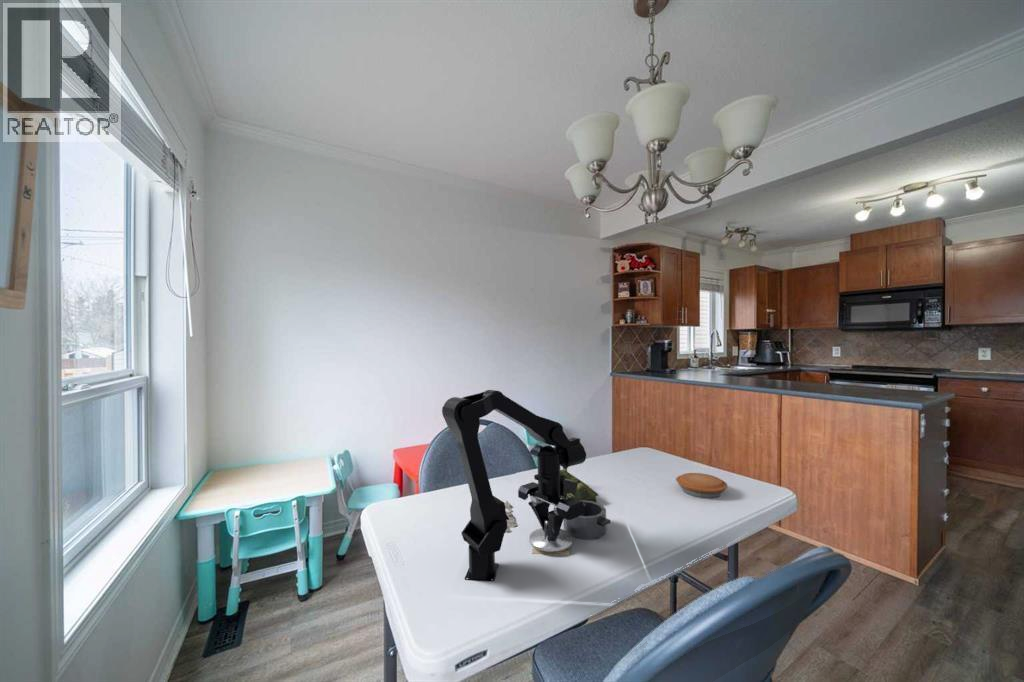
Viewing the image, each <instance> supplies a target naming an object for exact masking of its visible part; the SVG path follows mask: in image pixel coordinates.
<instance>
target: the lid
mask: <svg viewBox="0 0 1024 682" xmlns="http://www.w3.org/2000/svg"><path fill="white" fill-rule="evenodd" d="M528 541H529V543H530V545H531V546H532V548H533V547H535V548H536V549H539V550H542V551H547V552H558V551H563V550H566V549H568V548H569V547H570V548H571V547H572V545H573V544H574V537H572V535H571V534H570V533H569V532H567V531H565V530H564V528H560V531H559V534H558V536H557V537H554V536H553V533H552V528H551V524H550V520H549V517H546V518H544V531H543V529H542V527H541V528H538V529H536V530H533V531H532V532H531V533H530V534H529V540H528Z"/></svg>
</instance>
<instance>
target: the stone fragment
mask: <svg viewBox="0 0 1024 682" xmlns="http://www.w3.org/2000/svg"><path fill="white" fill-rule="evenodd" d="M504 504H505V509H506V510H508V511H506V514H507V516H508V518H509V520H507V530H506V531H505V533H504V534H510V533H512V532H513V530H511V528H515V527H517V526H518V524H517V522H516V521H515V517H514V515H513V514H512V512H514V511H513V509H512V508H511V506H512V504H510V503H509V501H508V500H506V501H505V502H504Z"/></svg>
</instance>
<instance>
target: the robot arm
mask: <svg viewBox="0 0 1024 682" xmlns="http://www.w3.org/2000/svg"><path fill="white" fill-rule="evenodd" d="M493 411H495V412H497V413H499V414H500V415H502V416H503V417H505V418H506V419H509V420H510V421H513V423H516V424H517V425H519V426H520V427H523V428H524V430H526V432H527V434H528V435H530V436H531V437H532V439H534V440H535V441H537V442H540V443H543V444H547V445H543V446H542V445H540V444H537V443H536V444H535V445H534V446H533V448H531V450H530V451H529V454H530V455H533V456H535V457H537V458H536V459H537V460H536V461H537V474H534V476H533V478H534V480H536V481H537V483H536V482H534V481H531V482H529V483H525V484H522V485H520V486H519V488H518V490H517V494H518V495H517V496H518V498H520V499H521V500H523V501H527V499H529V497H530V501H528V506H529V507H530V508H531V509H532V511H533V513H534V515H535V516H536V519H537V521H538V523H539V524H540V527H541V528H542V529H543V531H544V518H546V517H549V520H550V524H551V528H552V533H553V536H554V537H557V536H558V534H559V531H560V529H562V525H563V523H564V520H563V519H567V520H572V519H574V518H576V517H579V516H581V515H583V514H585V513H586V511H585V504H584V503H583V501H580V500H578V499H575V498H573V497H571V498H569V499H561V496H563V497H564V496H567V493H570V494H573V495H576V491H577V486H578V482H575V481H572V480H569V479H566V478H565V476H564V474H561V471H560V470H561V467H562V468H563V467H568V468H569V467H573V466H577V465H582V464H584V463H585V461H586V459H587V452H586V450H585V447H584V446H583V444H582V443H581V439H580V438H578V437H571V438H568V436H567V435H566V434H565V432H564V427H563V425H562V424H561V423H559V422H557V421H556V420H555V421H554V420H552V419H549V418H546V417H543V416H539V415H537V414H536V413H534V412H532V411H530V410H529V409H527V408H525V407H524V406H522V405H520V404H519V403H518V402H516V401H514V400H512V399H511V398H509V397H508V396H506V395H504V394H503V392H502V391H500V390H495V389H494V390H493V389H486V390H485V391H482V392H479V393H475V394H471V395H467V396H463V397H458V396H454V397H450V398H448V399H447V400H446V401H445V402H444V405H443V406H442V407H441V412H442V417H443V419H444V421H445V423H446V425H447V429H449V430H450V432H451V434H452V435H453V437H454V438H455V440H456V443H457V446H458V451H459V454H460V458H461V462H462V466H463V469H464V475H465V477H466V480H467V481H466V482H467V485H468V488H469V489H468V490H469V493H470V496H471V503H470V507H469V508H470V509H469V512H470V513H469V514H470V520H469V521H468V522H467V524H466V525H465V527H464V529H463V530H462V531H461V536H462V539H463V541H464V542H466V543H467V544H468V569H467V572H466V574H465V576H464V580H465V581H473V582H476V581H477V582H495V580H496V576H497V573H498V569H499V566H500V564H499V563H496V552H499V551H501V548H502V545H503V540H504V537H505V534H506V533H505V531H506V530H507V520H509V518H508V516H507V514H506V512H507V511H506V510H507V509H505V504H504V503H505V501H503V500H501V499H500V498H498V497H496V496H494V495H493V491H492V487H491V484H490V479H489V476H488V471H487V468H486V464H485V460H484V455H483V452H482V449H481V444H480V441H479V440H480V439H479V429H480V426H481V424H480V423H481V422H480V421H481V420H480V419H481V418H483V417H486V416H488V415H489V414H490V413H492V412H493ZM550 505H553V510H552V509H551V510H550V511H549V508H550Z"/></svg>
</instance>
